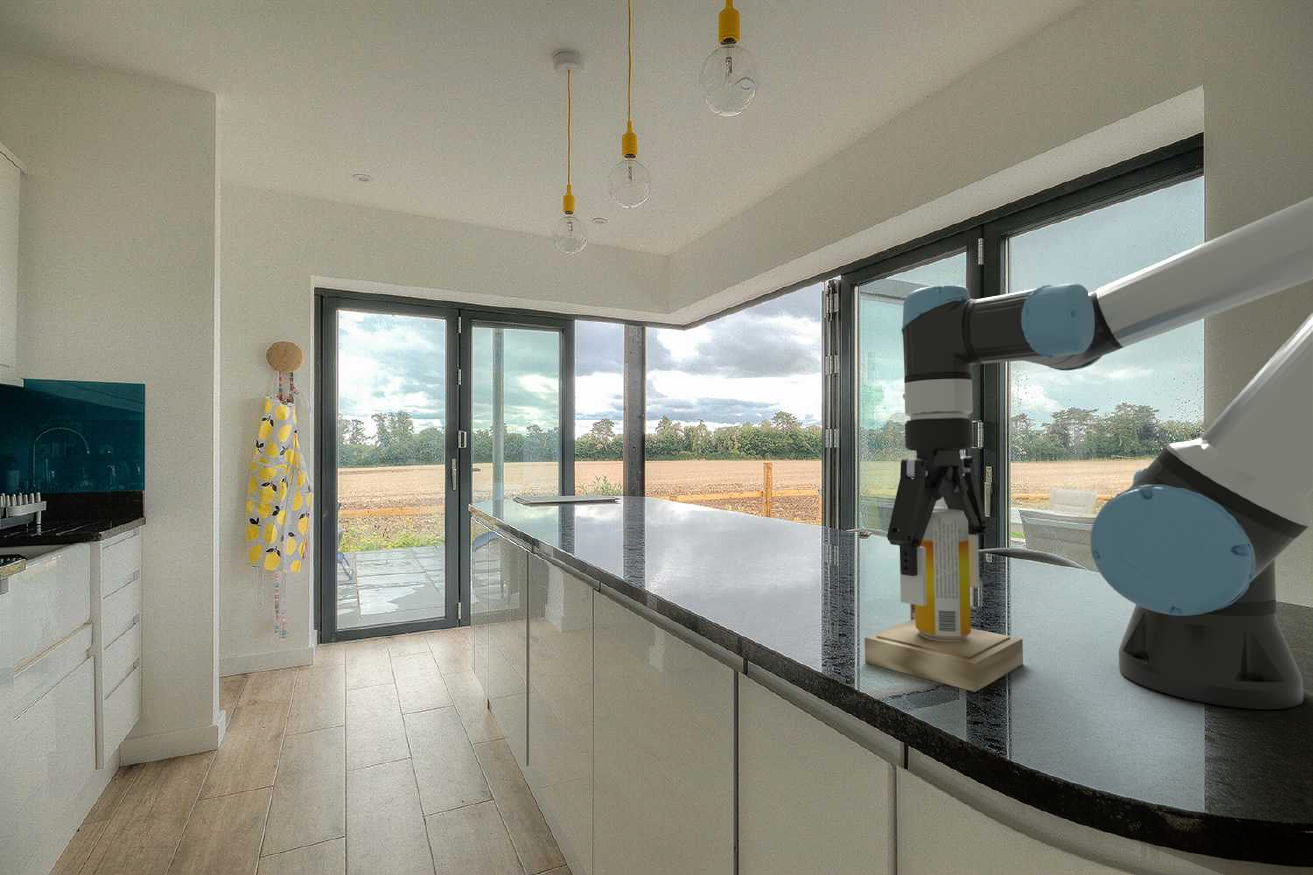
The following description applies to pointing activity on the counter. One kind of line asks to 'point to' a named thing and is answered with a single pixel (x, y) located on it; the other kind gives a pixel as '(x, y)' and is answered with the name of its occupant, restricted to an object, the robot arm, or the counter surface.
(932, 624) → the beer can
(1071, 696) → the counter surface
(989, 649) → the podium
